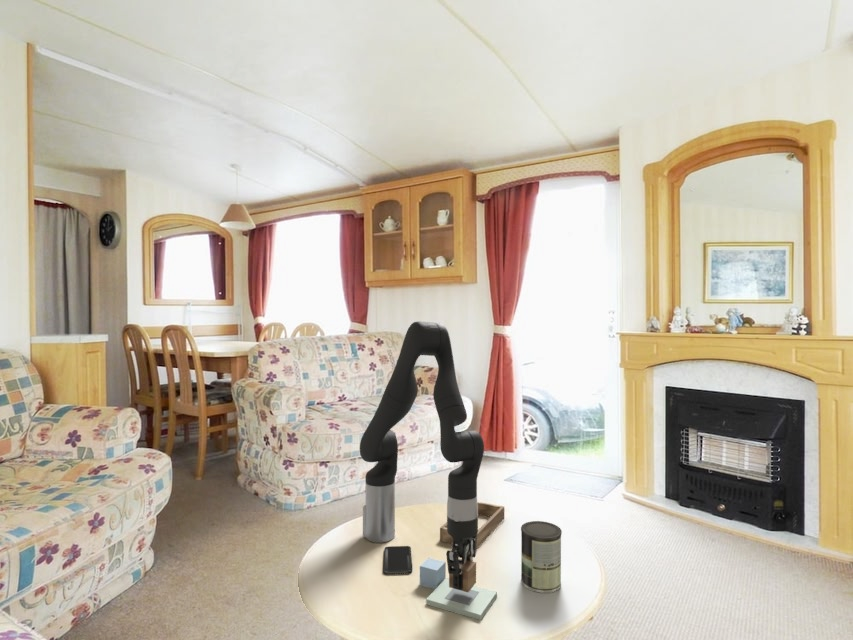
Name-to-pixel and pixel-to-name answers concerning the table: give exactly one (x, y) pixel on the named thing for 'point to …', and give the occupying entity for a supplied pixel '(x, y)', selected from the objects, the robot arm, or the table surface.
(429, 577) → the blue block
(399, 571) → the phone
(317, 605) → the table surface
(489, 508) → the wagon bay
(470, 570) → the walnut block
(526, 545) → the coffee can
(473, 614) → the plate
